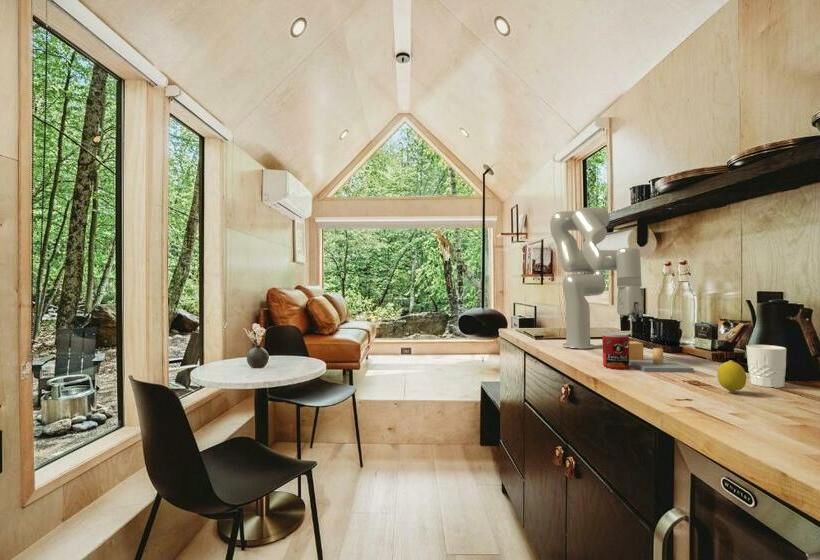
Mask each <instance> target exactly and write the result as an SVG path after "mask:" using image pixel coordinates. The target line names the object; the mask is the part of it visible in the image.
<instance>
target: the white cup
mask: <svg viewBox="0 0 820 560" xmlns="http://www.w3.org/2000/svg"><path fill="white" fill-rule="evenodd" d="M745 347H746V358H747V360H746V361H747V367H748V368H747V369H748V373H749V383H750V384H751V385H754V386H759V387H765V388H772V387H774V388H773V389H775V388H777V389H779V388H781V387H782V388H785V385H786V384H785V383H786V382H785V381H786V380H785V378H786V368H787V347H784V346H779V345H772V344H771V345H769V344H746V345H745Z"/></svg>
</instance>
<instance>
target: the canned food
mask: <svg viewBox="0 0 820 560" xmlns="http://www.w3.org/2000/svg"><path fill="white" fill-rule="evenodd" d="M629 336H630V335H629V334H628V333H625V332H619V331H618V332H613V331H612V332H611V331H609V332H608V331H607V332H602V336H601V337H602V338H601V339H602V365H603V368H605V367H606V369H608V368H610V369H609V370H615V369H619V370H618V371H625V370H624V369H626V370H628V369H629V368H630V365H629V341H630V337H629Z"/></svg>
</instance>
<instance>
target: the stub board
mask: <svg viewBox="0 0 820 560" xmlns="http://www.w3.org/2000/svg"><path fill="white" fill-rule="evenodd" d="M629 366H631V367H633V368H636V369H638V370H640V371H642V372H645V373H651V372H652V373H656V372H657V373H694V371H695V370H694V369H695V368H693V367H692V366H688V365H686V364H683V363H681V362H677V361H674V360H671V359H664V348H661V347H660V348H659V347H657V348H656V347H653V348H652V359H644V360H629Z"/></svg>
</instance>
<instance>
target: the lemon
mask: <svg viewBox="0 0 820 560" xmlns="http://www.w3.org/2000/svg"><path fill="white" fill-rule="evenodd" d="M716 374H717V376H716V377H717V381H718V383H719V385H720V386H721V387H722V388H724V389H725V390H726V391H728V392H729V393H732V394H734V393H735V392H736V391H740V390H742V389H744V387H745V386H746V384H747V373H746V371H745V368H743V365H740V364H739V363H737V362H735V361H734V360H728V361H724V362H723V363H721V364H720V365H719V367H718V369H717V373H716Z"/></svg>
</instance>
